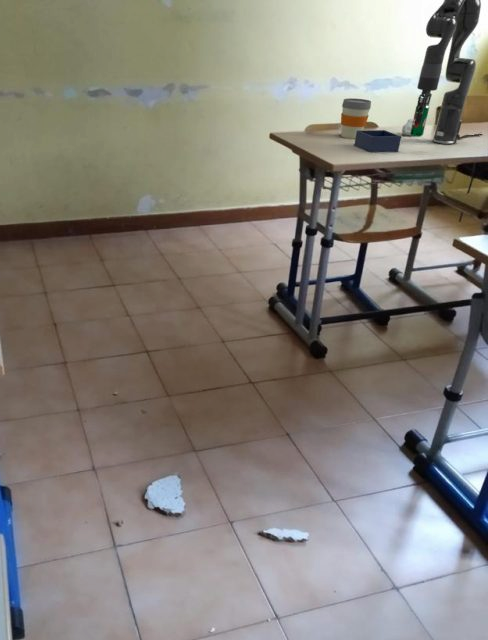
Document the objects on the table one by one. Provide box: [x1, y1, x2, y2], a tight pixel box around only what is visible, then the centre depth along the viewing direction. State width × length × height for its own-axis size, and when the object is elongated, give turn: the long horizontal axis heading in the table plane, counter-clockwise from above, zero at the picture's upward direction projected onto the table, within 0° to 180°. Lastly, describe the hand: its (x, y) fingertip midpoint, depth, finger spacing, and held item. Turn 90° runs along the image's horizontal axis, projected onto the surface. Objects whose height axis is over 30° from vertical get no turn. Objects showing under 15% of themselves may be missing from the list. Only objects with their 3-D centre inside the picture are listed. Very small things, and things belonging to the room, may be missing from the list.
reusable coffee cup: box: [340, 98, 372, 140], centre depth 273 cm, size 13×13×15 cm
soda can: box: [410, 103, 430, 138], centre depth 247 cm, size 5×5×12 cm
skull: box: [401, 118, 414, 137], centre depth 284 cm, size 8×9×12 cm
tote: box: [353, 129, 402, 153], centre depth 256 cm, size 13×13×6 cm
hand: (419, 122), depth 247 cm, fingers closed on soda can, 5 cm apart
